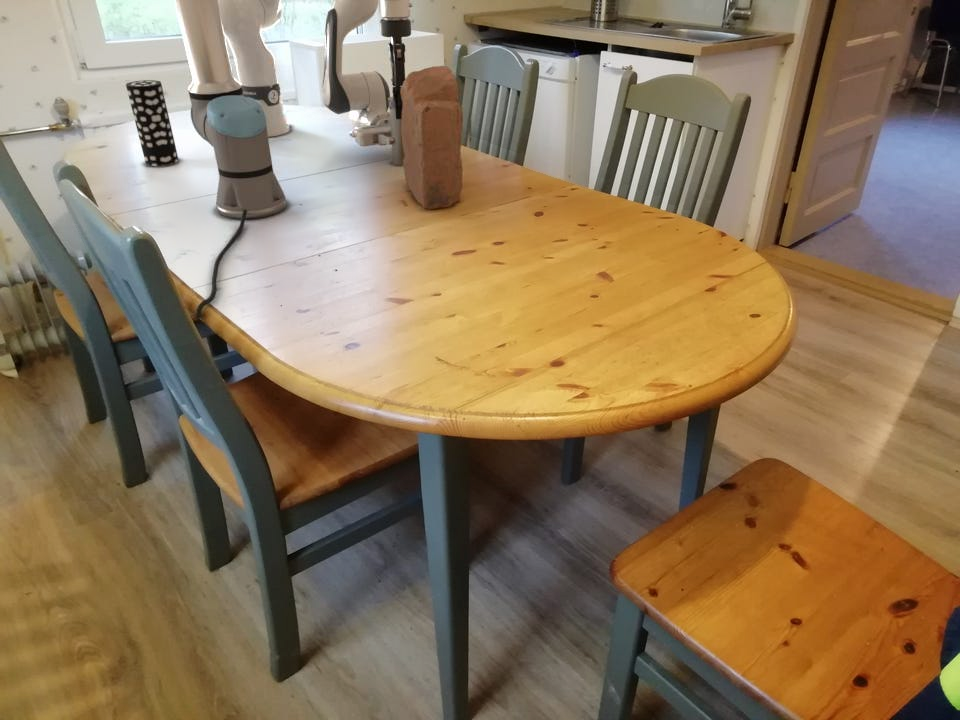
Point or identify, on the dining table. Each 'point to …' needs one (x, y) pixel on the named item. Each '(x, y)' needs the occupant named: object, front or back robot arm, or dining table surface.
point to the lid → (391, 102)
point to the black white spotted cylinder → (152, 122)
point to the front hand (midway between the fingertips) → (400, 115)
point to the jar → (396, 139)
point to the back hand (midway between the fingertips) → (402, 139)
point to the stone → (432, 136)
